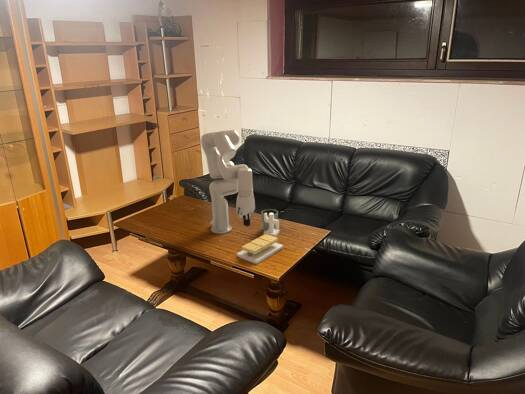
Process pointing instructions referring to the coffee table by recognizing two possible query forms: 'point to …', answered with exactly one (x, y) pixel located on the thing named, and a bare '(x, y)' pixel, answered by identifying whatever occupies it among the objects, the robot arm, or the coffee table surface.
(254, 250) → the key
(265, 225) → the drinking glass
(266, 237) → the key
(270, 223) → the figurine
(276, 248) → the board
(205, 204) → the coffee table surface
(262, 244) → the key
